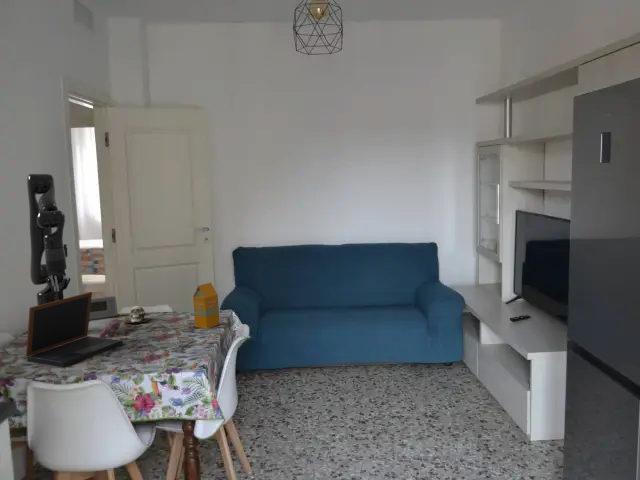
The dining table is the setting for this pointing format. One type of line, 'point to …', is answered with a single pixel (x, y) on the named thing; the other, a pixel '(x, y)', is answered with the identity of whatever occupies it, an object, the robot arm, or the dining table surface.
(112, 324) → the video game controller
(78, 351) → the black flat slab
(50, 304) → the tablet cover
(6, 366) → the dining table surface
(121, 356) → the dining table surface
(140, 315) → the skull
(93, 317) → the digital clock
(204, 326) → the orange juice
